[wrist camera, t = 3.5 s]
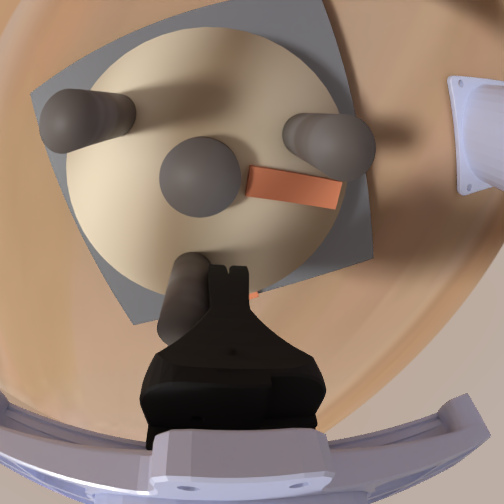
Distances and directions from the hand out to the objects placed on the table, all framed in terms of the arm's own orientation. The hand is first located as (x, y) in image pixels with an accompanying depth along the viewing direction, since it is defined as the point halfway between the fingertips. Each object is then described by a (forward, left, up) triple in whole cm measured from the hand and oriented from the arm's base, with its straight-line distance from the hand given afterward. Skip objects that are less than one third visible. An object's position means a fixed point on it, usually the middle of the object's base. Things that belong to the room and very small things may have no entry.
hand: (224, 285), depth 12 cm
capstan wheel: (-1, -4, -2) cm, 5 cm away
